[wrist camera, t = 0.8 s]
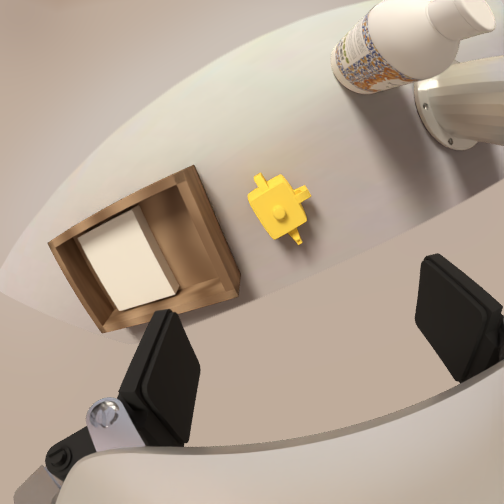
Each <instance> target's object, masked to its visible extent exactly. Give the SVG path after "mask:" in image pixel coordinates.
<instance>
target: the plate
mask: <svg viewBox="0 0 504 504" xmlns="http://www.w3.org/2000/svg"><path fill="white" fill-rule="evenodd" d="M78 240H79V242H80V244H81V246H82V248H83V250H84V252H85V254H86V255H87V257H88V259H89V261H90V263H91V265H92V266H93V268H94V270H95V272H96V274H97V275H98V277H99V279H100V280H101V282H102V284H103V286H104V287H105V289H106V291H107V292H108V294H109V295H110V297H111V299H112V300H113V302H114V303H115V305H116V307H117V308H118V310H119V311H122V310H125V309H129V308H132V307H135V306H139V305H142V304H145V303H149V302H152V301H155V300H159V299H162V298H165V297H168V296H172V295H175V294H176V292H177V290H178V288H179V284H178V282H177V280H176V279H175V277H174V275H173V273H172V271H171V269H170V267H169V265H168V263H167V261H166V260H165V258H164V256H163V254H162V252H161V250H160V248H159V246H158V244H157V242H156V240H155V238H154V236H153V234H152V232H151V230H150V227H149V225H148V223H147V221H146V219H145V217H144V215H143V213H142V210H141V208H140V206H139V205H138V206H135V207H133V208H131V209H129V210H127V211H125V212H123V213H121V214H119V215H117V216H115V217H113V218H112V219H110V220H108V221H106V222H104V223H102V224H100V225H98V226H96V227H95V228H93V229H91V230H89V231H87V232H85V233H84V234H83V235H81V236H80V237H78Z"/></svg>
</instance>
